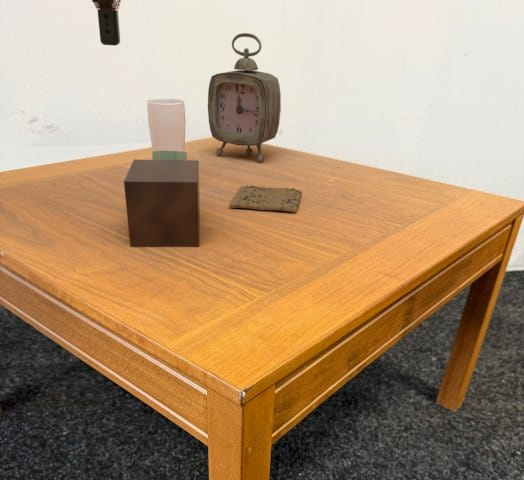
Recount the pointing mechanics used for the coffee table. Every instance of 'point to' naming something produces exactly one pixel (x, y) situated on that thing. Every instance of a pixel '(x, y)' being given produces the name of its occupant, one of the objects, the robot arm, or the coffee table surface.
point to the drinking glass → (166, 124)
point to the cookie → (267, 198)
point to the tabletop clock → (244, 104)
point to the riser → (163, 202)
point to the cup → (169, 155)
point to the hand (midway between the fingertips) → (110, 44)
